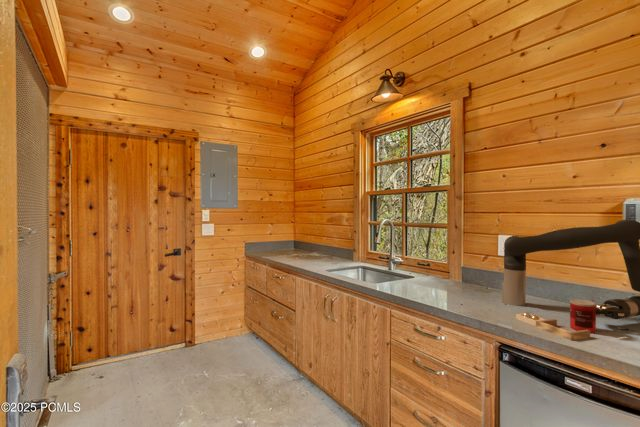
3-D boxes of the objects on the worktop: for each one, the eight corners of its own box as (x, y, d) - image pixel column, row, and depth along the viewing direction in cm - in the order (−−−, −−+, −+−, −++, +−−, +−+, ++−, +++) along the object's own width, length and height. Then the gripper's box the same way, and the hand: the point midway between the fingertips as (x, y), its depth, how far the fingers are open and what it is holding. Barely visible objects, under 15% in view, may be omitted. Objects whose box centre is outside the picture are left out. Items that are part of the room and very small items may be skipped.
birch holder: (536, 328, 129) (536, 321, 129) (553, 326, 132) (553, 318, 132) (571, 342, 116) (571, 333, 116) (589, 339, 119) (590, 330, 119)
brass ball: (528, 322, 135) (529, 314, 135) (534, 321, 136) (534, 313, 136) (535, 324, 132) (535, 316, 132) (541, 323, 133) (541, 316, 133)
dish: (516, 319, 139) (516, 314, 139) (526, 318, 141) (526, 313, 141) (535, 327, 131) (535, 321, 131) (546, 325, 132) (546, 319, 132)
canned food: (583, 326, 131) (583, 298, 131) (601, 334, 123) (601, 304, 123) (564, 327, 131) (564, 299, 131) (581, 334, 123) (581, 305, 123)
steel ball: (520, 319, 139) (520, 311, 138) (526, 318, 139) (526, 311, 139) (527, 321, 136) (527, 314, 136) (532, 320, 137) (532, 313, 137)
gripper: (602, 295, 140) (572, 297, 134) (640, 303, 127) (609, 307, 122) (601, 312, 140) (571, 316, 134) (640, 323, 127) (608, 327, 122)
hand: (589, 312), depth 128 cm, fingers closed
